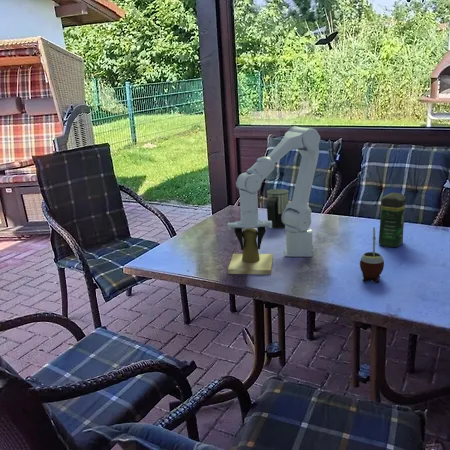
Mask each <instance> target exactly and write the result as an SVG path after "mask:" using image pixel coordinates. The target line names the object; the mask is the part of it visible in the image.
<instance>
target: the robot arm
mask: <svg viewBox="0 0 450 450" xmlns="http://www.w3.org/2000/svg"><path fill="white" fill-rule="evenodd" d="M320 142H321V136H320V133H319V131H317V130H316V129H315V128H312V127H311V128H308V127H300V126H296V125H294V126H292V127H290V128H289V129H288V131H286V132H285V133H284V137H282V140H281V141H280V142H278V144H277V145H276V146H275V147H274V148H273V149H272V150H271V152H270V153H269V154H268V155H267V156H261V157H258V158H257V159H256V162H255V163H254V164H253V165H252V166H251V167H250V168H248V169H247V170H246V172H242V173H241V174H239V175H238V177H237V179H236V181H235V187H236V188H237V189H238V192H239V207H240V209H239V210H240V220H237V221H234V222H227V230H228V231H232V230H234V234H235V236H236V238H237V240H238V242H239V245H240V248H241V249H240V250H241V251H243V244H244V240H243V236H242V232H243V230H244V229H247V228H254V229H256V230H257V233H258V235H257V247H258V250H261V244H262V241H263V238H264V236H265V234H266V229H267V228H268V229H273V228H272V221H268V220H261V219H260V220H259V201H258V191H259V190H260V189H261V187H262V183H263V182H264V180H265V179H266V178H267V177H268V176H270V174H271V173H272V172H273V171H274V170H275V164H276V163H277V162H279V161H280V160H281V159H282V158H283V157H285V155H287V154H288V153H289V152H290V151H291V150H297V151H298V153H299V154H300V155H301V159H300V164H299V168H298V172H297V177H296V181H295V185H294V186H295V187H294V190H293V194H292V198H291V201H290V202H289V201H288V204H287V205H286V209H285V211H284V212H283V214H282V222H283V224H285V249H284V257H297V258H299V257H301V258H303V257H307V258H308V257H310V258H311V257H313V250H314V244H313V228H310V227H311V224H312V213H313V212H312V209H311V207H310V205H309V199H310V197H311V196H310V194H311V191H312V185H313V181H314V177H315V173H316V169H317V165H318V161H319V155H320V148H319V147H320Z"/></svg>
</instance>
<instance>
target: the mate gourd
mask: <svg viewBox="0 0 450 450" xmlns="http://www.w3.org/2000/svg"><path fill="white" fill-rule="evenodd" d="M372 234H373V235H372V251H367V252H365V253H363V254H362V255H361V257H360V260H359V268H360V272H362V273H361V274H362V282H370V281H372V282H373V283H376V284H379V282H380V281H379V278H381V275H382V273H383V270H384V267H385V260H384V257H383V255H382V254H380V253H378V252H376V228H375V227H373V228H372Z"/></svg>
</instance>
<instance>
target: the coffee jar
mask: <svg viewBox="0 0 450 450" xmlns="http://www.w3.org/2000/svg"><path fill="white" fill-rule="evenodd" d="M406 200H407V197H406V196H405V195H404V194H402V193H400V192H399V193H398V192H390V193H388V194H386V195H384V196H383V197H382V198H381V199H380V201H381V202H380V219H379V220H380V221H379V232H378V234H379V236H378V244H379V246H380V245H381V246H384V247H385V248H398V247H400V246H401V245H402V243H403V241H404V225H405V213H406V203H407V201H406Z"/></svg>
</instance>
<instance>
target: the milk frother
mask: <svg viewBox="0 0 450 450" xmlns="http://www.w3.org/2000/svg"><path fill="white" fill-rule="evenodd" d="M289 192H290V191H289V190H288V189H286V188H274V189H272V188H270V189H268V190H267V191H266V193H267V201H266V202H267V203H266V213H267V216H266V217H267V218H266V219H267V221H272V228H271V229H284V228H285V224H283V222H282V214H283V212H284V211H285V209H286V205H287V204H288V203H289ZM285 229H286V228H285Z"/></svg>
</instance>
